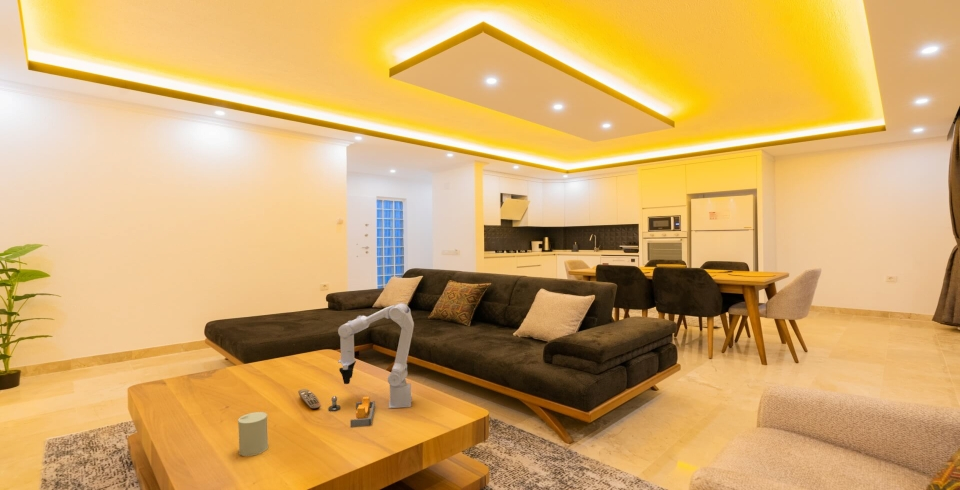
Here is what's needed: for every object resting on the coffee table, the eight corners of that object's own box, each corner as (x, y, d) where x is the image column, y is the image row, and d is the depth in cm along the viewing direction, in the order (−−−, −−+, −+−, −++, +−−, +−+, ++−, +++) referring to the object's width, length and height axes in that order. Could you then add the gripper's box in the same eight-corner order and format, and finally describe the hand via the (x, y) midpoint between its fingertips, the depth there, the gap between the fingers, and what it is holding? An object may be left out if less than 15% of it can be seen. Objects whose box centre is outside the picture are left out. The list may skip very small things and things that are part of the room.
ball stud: (341, 406, 190) (341, 393, 190) (339, 411, 185) (339, 398, 185) (329, 407, 189) (329, 394, 189) (327, 411, 184) (327, 399, 184)
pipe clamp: (359, 412, 184) (359, 397, 184) (369, 411, 184) (369, 396, 184) (353, 424, 172) (352, 408, 172) (364, 424, 172) (363, 408, 172)
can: (246, 443, 157) (245, 411, 157) (272, 442, 158) (271, 409, 158) (233, 457, 148) (232, 422, 148) (262, 455, 149) (260, 421, 148)
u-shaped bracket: (375, 407, 188) (374, 401, 188) (371, 425, 171) (371, 418, 171) (356, 408, 187) (356, 402, 187) (350, 427, 170) (350, 420, 170)
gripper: (340, 346, 199) (341, 375, 200) (335, 355, 185) (335, 387, 186) (356, 345, 200) (357, 374, 201) (352, 354, 186) (353, 386, 187)
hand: (348, 380), depth 193 cm, fingers open, 7 cm apart
